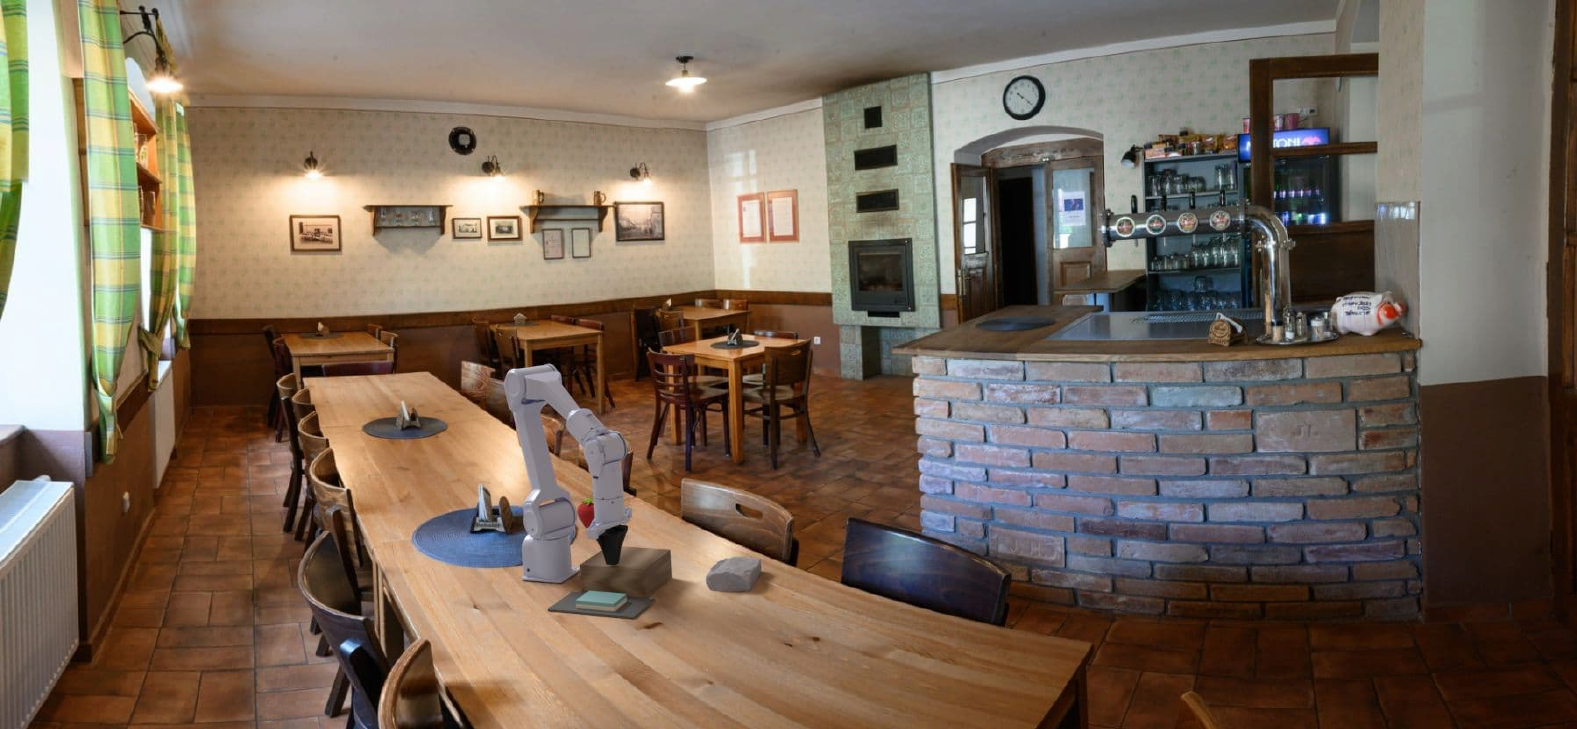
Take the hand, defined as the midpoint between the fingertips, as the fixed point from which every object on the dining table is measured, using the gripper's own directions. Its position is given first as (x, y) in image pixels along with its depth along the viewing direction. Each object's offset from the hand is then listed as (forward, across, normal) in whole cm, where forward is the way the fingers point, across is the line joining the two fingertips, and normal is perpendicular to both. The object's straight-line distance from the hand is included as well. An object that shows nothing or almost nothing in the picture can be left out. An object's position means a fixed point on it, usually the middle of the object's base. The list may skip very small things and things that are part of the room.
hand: (612, 563), depth 178 cm
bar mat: (+6, -5, 0) cm, 8 cm away
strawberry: (+7, +36, +25) cm, 44 cm away
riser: (+6, +6, 0) cm, 9 cm away
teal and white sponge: (+5, -5, 0) cm, 7 cm away
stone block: (+7, +13, -20) cm, 25 cm away
